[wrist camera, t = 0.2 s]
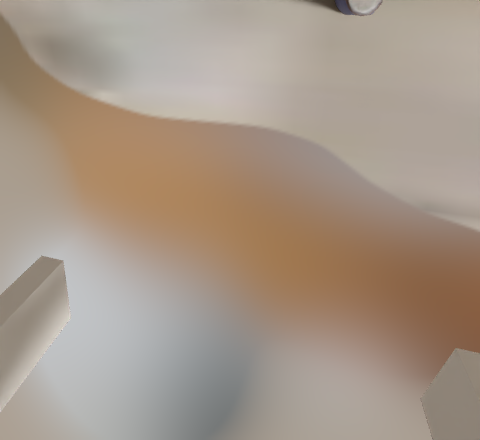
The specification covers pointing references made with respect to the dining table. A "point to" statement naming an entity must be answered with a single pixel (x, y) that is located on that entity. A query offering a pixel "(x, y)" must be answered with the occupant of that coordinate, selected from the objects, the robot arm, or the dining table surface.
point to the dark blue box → (358, 6)
